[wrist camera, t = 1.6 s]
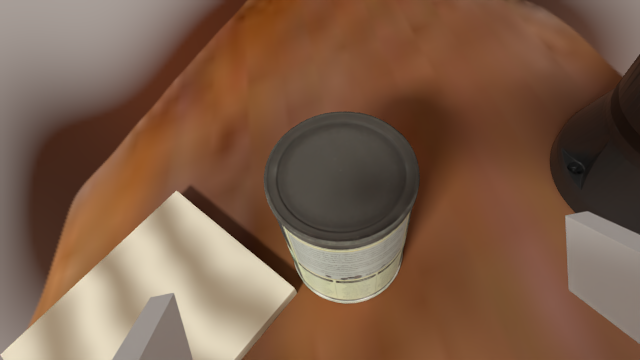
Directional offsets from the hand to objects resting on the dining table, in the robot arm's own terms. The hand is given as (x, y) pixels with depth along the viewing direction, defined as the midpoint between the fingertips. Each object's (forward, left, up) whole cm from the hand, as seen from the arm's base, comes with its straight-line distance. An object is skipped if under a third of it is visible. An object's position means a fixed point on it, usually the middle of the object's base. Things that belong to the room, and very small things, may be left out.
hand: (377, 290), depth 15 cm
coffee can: (-8, -8, -25) cm, 27 cm away
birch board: (+8, -17, -24) cm, 31 cm away
